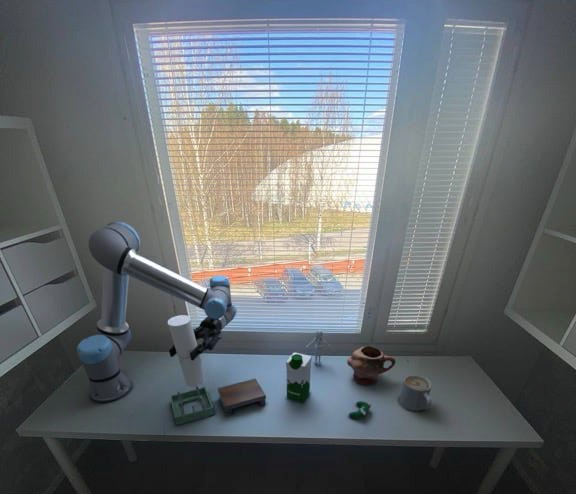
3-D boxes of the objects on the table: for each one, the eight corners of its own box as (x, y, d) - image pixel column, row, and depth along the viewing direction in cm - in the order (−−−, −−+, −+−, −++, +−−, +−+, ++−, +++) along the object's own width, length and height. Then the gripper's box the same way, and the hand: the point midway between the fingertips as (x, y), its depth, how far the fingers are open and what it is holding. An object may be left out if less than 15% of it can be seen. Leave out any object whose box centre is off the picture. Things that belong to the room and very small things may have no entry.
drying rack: (171, 402, 129) (167, 388, 125) (206, 393, 133) (204, 379, 130) (176, 425, 118) (172, 410, 114) (214, 414, 123) (212, 400, 119)
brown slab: (219, 397, 131) (217, 388, 128) (256, 387, 136) (255, 378, 134) (226, 416, 122) (225, 406, 119) (266, 405, 127) (265, 395, 124)
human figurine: (329, 362, 152) (332, 328, 142) (330, 366, 149) (333, 332, 139) (304, 362, 152) (305, 328, 142) (304, 367, 149) (305, 332, 139)
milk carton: (283, 399, 130) (283, 357, 119) (293, 386, 137) (293, 346, 126) (304, 405, 127) (305, 363, 116) (312, 392, 134) (314, 351, 123)
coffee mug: (395, 395, 132) (399, 375, 126) (418, 393, 133) (423, 373, 127) (409, 418, 121) (415, 397, 115) (434, 415, 122) (441, 395, 116)
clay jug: (386, 370, 147) (392, 343, 139) (395, 386, 137) (401, 359, 129) (343, 371, 146) (346, 344, 138) (348, 387, 136) (351, 360, 128)
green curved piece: (353, 423, 121) (365, 418, 117) (347, 415, 121) (359, 410, 117) (362, 409, 128) (374, 404, 124) (356, 401, 127) (368, 396, 123)
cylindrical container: (200, 388, 115) (183, 326, 100) (182, 385, 117) (163, 324, 102) (208, 375, 121) (194, 316, 106) (191, 373, 122) (174, 314, 107)
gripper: (237, 336, 125) (209, 369, 107) (191, 330, 130) (157, 360, 112) (235, 319, 121) (206, 349, 103) (188, 313, 126) (152, 341, 107)
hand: (181, 355), depth 107 cm, fingers closed on cylindrical container, 7 cm apart
